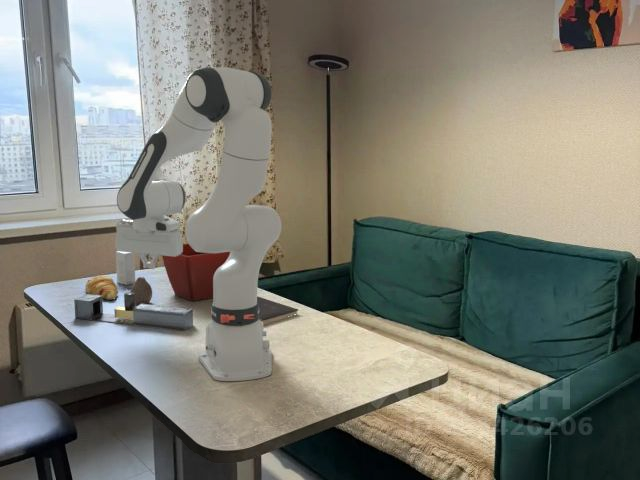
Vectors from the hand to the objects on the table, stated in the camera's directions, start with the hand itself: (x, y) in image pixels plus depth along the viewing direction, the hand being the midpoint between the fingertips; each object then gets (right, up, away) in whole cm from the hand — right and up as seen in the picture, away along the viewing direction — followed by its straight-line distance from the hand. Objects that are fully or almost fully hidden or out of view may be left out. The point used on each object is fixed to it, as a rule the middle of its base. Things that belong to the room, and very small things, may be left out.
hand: (149, 268), depth 170 cm
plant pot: (+7, -11, +34) cm, 37 cm away
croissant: (-26, -11, +32) cm, 43 cm away
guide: (-6, -16, +5) cm, 18 cm away
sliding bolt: (-1, -15, +3) cm, 16 cm away
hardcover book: (+29, -16, +17) cm, 37 cm away
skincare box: (-22, -8, +47) cm, 53 cm away
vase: (-9, -13, +22) cm, 27 cm away
